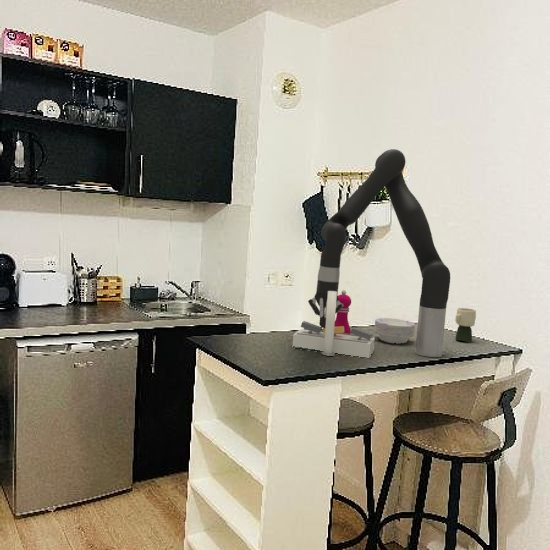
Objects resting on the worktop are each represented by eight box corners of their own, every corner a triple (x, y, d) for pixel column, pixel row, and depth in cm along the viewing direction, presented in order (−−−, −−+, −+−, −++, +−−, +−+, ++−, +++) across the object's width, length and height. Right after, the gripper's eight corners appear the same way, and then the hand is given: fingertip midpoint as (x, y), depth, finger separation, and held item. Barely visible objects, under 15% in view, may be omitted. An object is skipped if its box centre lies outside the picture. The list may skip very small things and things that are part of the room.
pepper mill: (343, 346, 204) (347, 292, 202) (326, 342, 208) (330, 289, 206) (353, 343, 210) (357, 290, 207) (336, 339, 214) (340, 288, 212)
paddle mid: (344, 331, 198) (344, 326, 198) (342, 332, 195) (342, 327, 195) (325, 332, 200) (324, 327, 200) (323, 333, 197) (322, 328, 197)
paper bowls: (421, 345, 213) (423, 324, 213) (387, 346, 208) (389, 325, 207) (398, 336, 227) (400, 316, 227) (366, 337, 222) (367, 317, 221)
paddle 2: (370, 338, 195) (372, 333, 195) (369, 340, 192) (371, 335, 192) (351, 331, 197) (353, 326, 196) (350, 333, 194) (351, 328, 194)
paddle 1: (320, 332, 200) (322, 327, 200) (318, 333, 198) (320, 328, 197) (302, 325, 202) (304, 320, 202) (300, 326, 200) (302, 322, 199)
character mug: (465, 338, 230) (469, 307, 229) (479, 342, 224) (483, 310, 223) (447, 340, 225) (450, 308, 224) (460, 344, 219) (463, 311, 217)
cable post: (335, 354, 192) (340, 291, 189) (332, 357, 187) (337, 293, 185) (323, 353, 193) (327, 290, 190) (320, 355, 189) (324, 291, 186)
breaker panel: (373, 351, 199) (374, 336, 198) (368, 358, 189) (370, 342, 188) (301, 341, 208) (302, 326, 207) (292, 348, 197) (293, 332, 196)
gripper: (348, 280, 198) (343, 328, 200) (312, 276, 202) (308, 322, 204) (344, 283, 191) (339, 332, 193) (307, 278, 195) (302, 326, 197)
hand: (323, 327), depth 199 cm, fingers closed
